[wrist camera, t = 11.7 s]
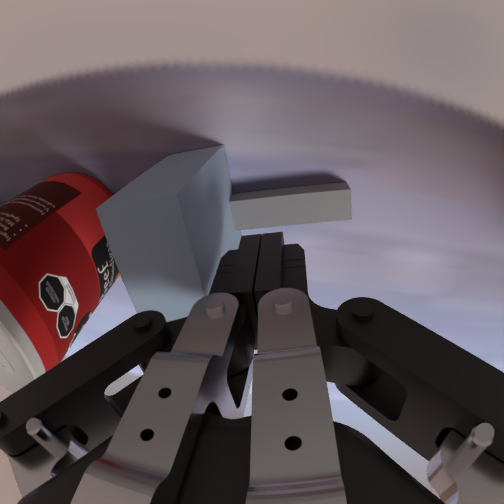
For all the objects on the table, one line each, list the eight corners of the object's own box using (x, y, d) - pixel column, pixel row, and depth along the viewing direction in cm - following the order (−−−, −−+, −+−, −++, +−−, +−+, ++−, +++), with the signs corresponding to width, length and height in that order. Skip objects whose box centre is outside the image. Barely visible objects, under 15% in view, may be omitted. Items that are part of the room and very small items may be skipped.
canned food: (101, 293, 22) (25, 410, 12) (28, 221, 19) (-73, 311, 10) (159, 232, 18) (61, 375, 9) (69, 143, 16) (-77, 223, 7)
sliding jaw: (342, 131, 15) (386, 170, 8) (349, 253, 18) (376, 349, 11) (162, 156, 16) (87, 210, 10) (192, 267, 19) (151, 358, 13)
